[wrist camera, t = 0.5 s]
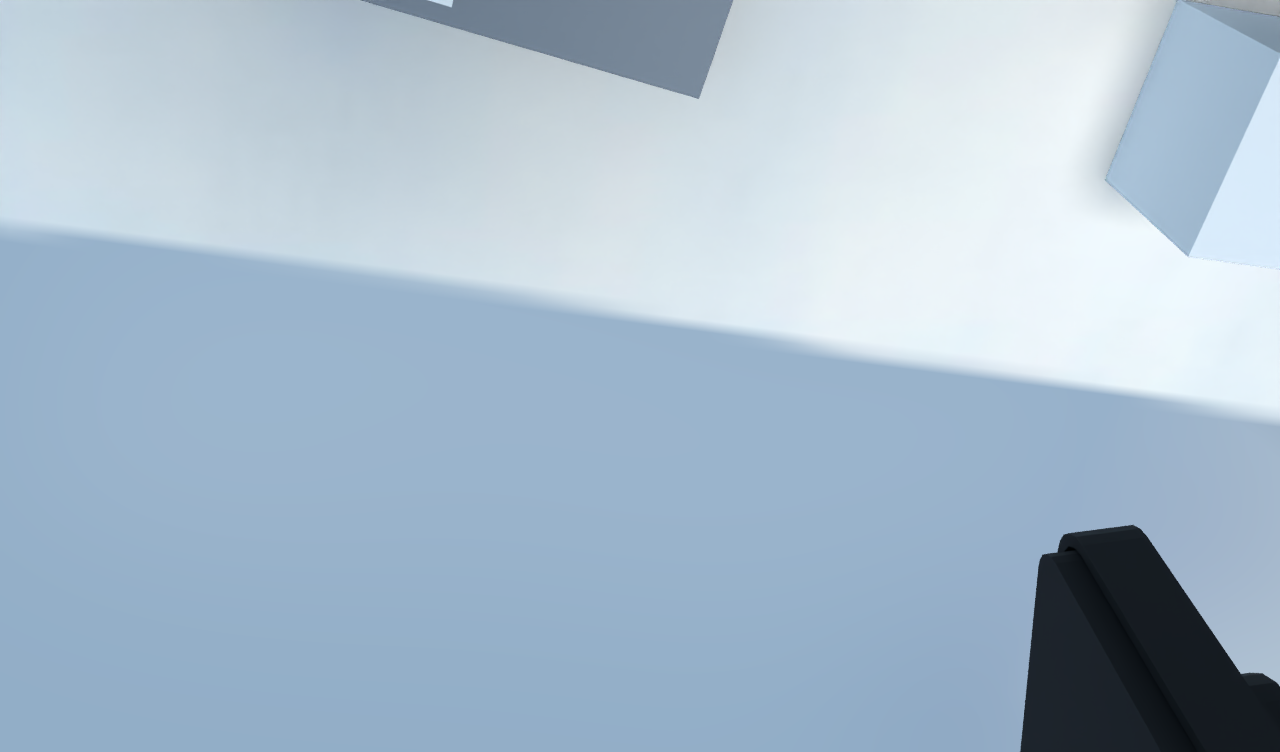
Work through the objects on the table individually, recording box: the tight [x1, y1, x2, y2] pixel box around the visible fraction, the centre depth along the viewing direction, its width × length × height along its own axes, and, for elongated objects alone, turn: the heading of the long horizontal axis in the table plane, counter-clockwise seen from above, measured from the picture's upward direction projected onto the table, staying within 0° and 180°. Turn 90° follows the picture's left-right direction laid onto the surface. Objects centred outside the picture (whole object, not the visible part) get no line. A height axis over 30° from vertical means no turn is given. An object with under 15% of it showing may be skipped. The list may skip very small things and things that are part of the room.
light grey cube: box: [1105, 0, 1280, 270], centre depth 35 cm, size 6×6×6 cm
